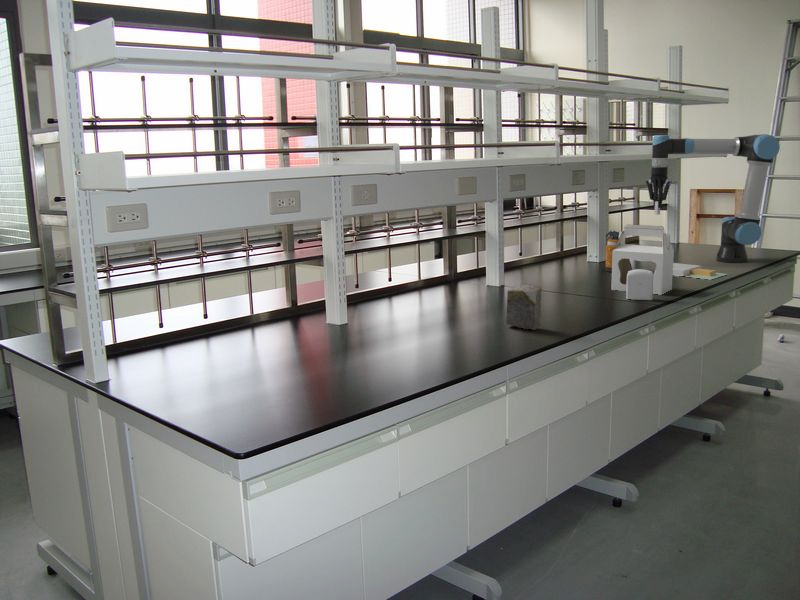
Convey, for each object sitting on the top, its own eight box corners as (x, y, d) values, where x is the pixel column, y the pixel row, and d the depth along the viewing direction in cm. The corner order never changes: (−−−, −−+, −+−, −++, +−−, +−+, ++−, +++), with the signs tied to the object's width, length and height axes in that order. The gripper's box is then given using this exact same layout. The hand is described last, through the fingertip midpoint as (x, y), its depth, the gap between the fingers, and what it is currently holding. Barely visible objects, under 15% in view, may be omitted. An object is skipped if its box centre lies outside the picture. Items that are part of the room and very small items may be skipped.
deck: (673, 268, 364) (673, 262, 364) (700, 271, 354) (701, 265, 353) (655, 273, 352) (655, 267, 352) (683, 277, 342) (683, 270, 342)
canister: (612, 273, 355) (614, 232, 351) (598, 270, 365) (600, 230, 361) (628, 272, 358) (629, 231, 354) (613, 268, 368) (615, 229, 364)
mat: (702, 272, 353) (702, 271, 353) (727, 274, 345) (727, 274, 345) (685, 277, 341) (685, 276, 341) (710, 280, 333) (710, 279, 333)
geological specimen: (505, 327, 256) (506, 285, 253) (513, 324, 261) (513, 283, 258) (534, 331, 250) (535, 288, 247) (541, 327, 255) (542, 285, 252)
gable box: (610, 290, 317) (612, 225, 311) (622, 285, 327) (624, 222, 321) (662, 295, 303) (665, 228, 297) (672, 290, 313) (676, 225, 307)
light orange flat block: (691, 274, 346) (691, 270, 346) (697, 272, 350) (697, 268, 350) (709, 276, 340) (710, 272, 339) (715, 274, 344) (715, 270, 343)
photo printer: (625, 300, 296) (627, 269, 293) (625, 297, 300) (627, 268, 297) (652, 301, 293) (654, 270, 290) (652, 298, 297) (653, 268, 294)
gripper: (643, 166, 365) (641, 214, 370) (668, 167, 356) (665, 215, 361) (651, 166, 370) (648, 213, 375) (675, 166, 361) (673, 214, 366)
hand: (657, 214), depth 368 cm, fingers closed
